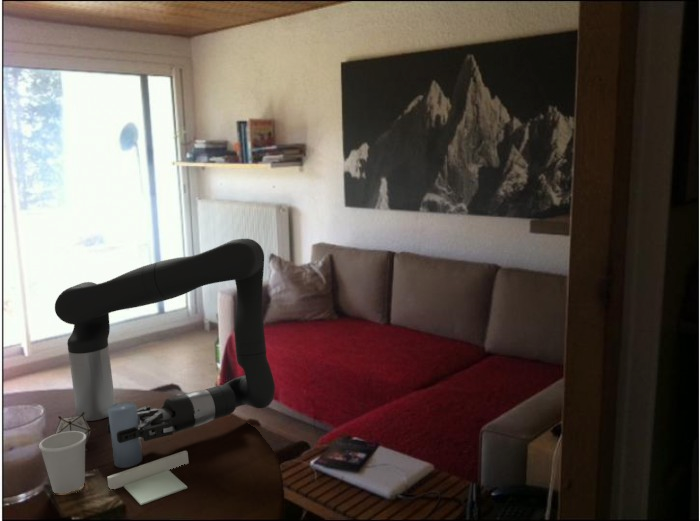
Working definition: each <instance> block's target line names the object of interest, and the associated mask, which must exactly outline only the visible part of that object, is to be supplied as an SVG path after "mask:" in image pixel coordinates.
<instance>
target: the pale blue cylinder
mask: <svg viewBox="0 0 700 521" xmlns="http://www.w3.org/2000/svg"><path fill="white" fill-rule="evenodd" d="M137 409H138V407H137V403H136V402H134V401H122V402H118V403H115V404H114V405H112V406H110V407H109V408H108V415H109V417H108V421H109V422H108V423H110V431H111V434H110V437H111V446H112V454H113V455H112V456H113V462H114V466H115V467H117V468H121V469H126V468H131V467H133V466H137V465H139V464H140V463H141V462H142V461H143V458H144V457H143V451H142V443H141V439H138V438H135V439H132V440H129V441H126V442H122V443H119V442H118V441H117V432H119V431H123V430H126V429H130V428H133V427H135V428H136V427H137V426H139V423H138V414H137Z"/></svg>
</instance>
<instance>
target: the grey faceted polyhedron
mask: <svg viewBox="0 0 700 521" xmlns="http://www.w3.org/2000/svg"><path fill="white" fill-rule="evenodd" d="M83 415H84V412H83V413H82V415H80V416H77V415H75V416H68V417H61V415H58V416H57V417H58V419H59V422H58V425H57V427H56V429H55V432H54V434H57V433H62V432H67V431H79V432H82V433H84V434H85V435H86V439H85V451H86V452H87V451H88V448H87V444H88V442H89V438H90V436H91V432H94V431H95V428H91V427H90V425H89V424H88V421H86V420H85V419H84V417H83Z"/></svg>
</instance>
